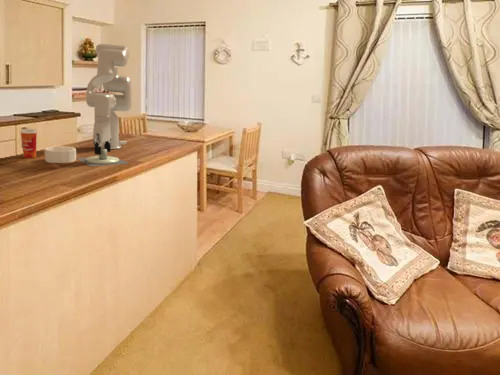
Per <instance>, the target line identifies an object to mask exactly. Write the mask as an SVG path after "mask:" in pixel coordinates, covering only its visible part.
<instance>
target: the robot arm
mask: <svg viewBox="0 0 500 375" xmlns="http://www.w3.org/2000/svg"><path fill="white" fill-rule="evenodd" d="M95 53H96V55H97V70H96V75H94V76H93V77H92V78H91V79H90V81H89V82H88V84H87V87H86V94H85V102H86V105H87V106H88V107H90V108H93V110H94V113H93V114H94V123H93V131H92V132H93V133H92V142H93V146H94V155H96V156H99V155H101V149H107V153H110V152H111V150H119V149H121V148H122V145H127V140H120V139H119V138H120V135H119V134H120V132H119V131H120V129H119V127H120V126H119V125H120V123H119V122H120V121H119V116H118V115H117V114H116V112H129V111H131V109H132V81H131V79H130V77H128V76H126V75H119V73H118V67H126V65H127V64H128V61H129V57H130V56H129V55H130V54H129V53H130V52H129V48H128V47H127V46H125V45H117V44H109V43H100V44H99V43H98V44H97V45H96V47H95ZM100 85H102V89H103V91H105V92H108V93H105V92H94V90H95V88H96V87H98V86H100ZM112 93H113V94H112ZM115 93H120V94H115Z"/></svg>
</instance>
